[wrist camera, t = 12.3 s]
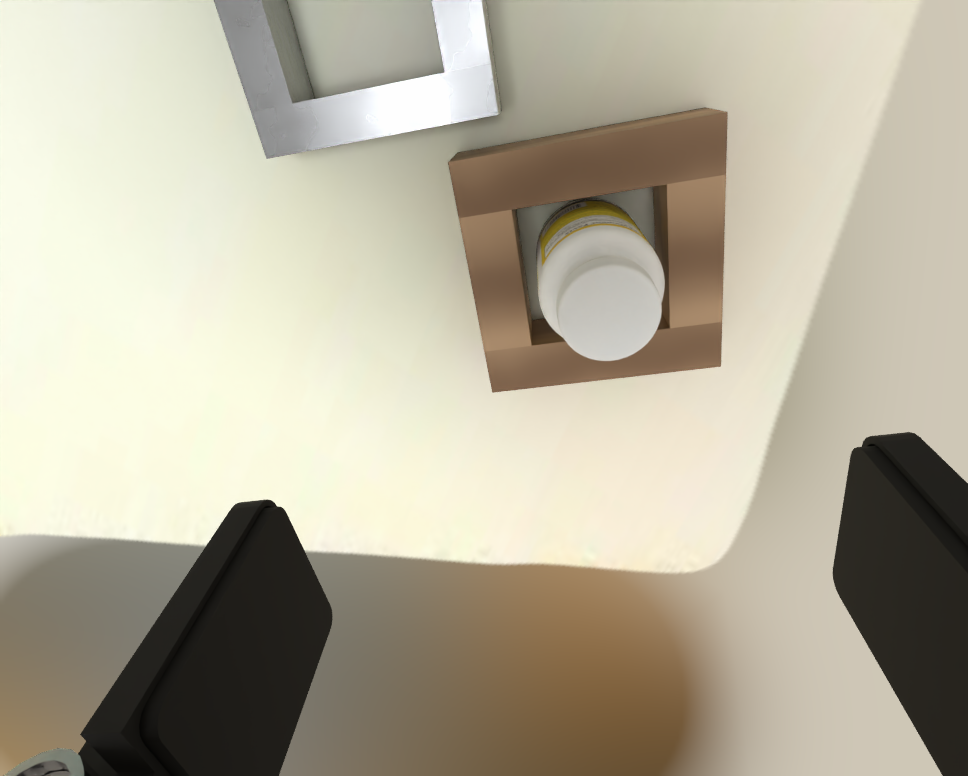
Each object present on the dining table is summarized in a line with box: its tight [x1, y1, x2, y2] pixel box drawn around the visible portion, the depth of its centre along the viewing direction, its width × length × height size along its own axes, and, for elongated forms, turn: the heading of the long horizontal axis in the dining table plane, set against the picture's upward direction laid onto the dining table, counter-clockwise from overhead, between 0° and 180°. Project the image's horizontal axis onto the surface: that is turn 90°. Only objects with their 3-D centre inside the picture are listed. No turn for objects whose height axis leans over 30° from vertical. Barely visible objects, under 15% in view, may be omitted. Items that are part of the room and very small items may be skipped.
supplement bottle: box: [536, 198, 665, 361], centre depth 26 cm, size 5×5×10 cm
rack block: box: [448, 108, 727, 392], centre depth 29 cm, size 12×12×4 cm
